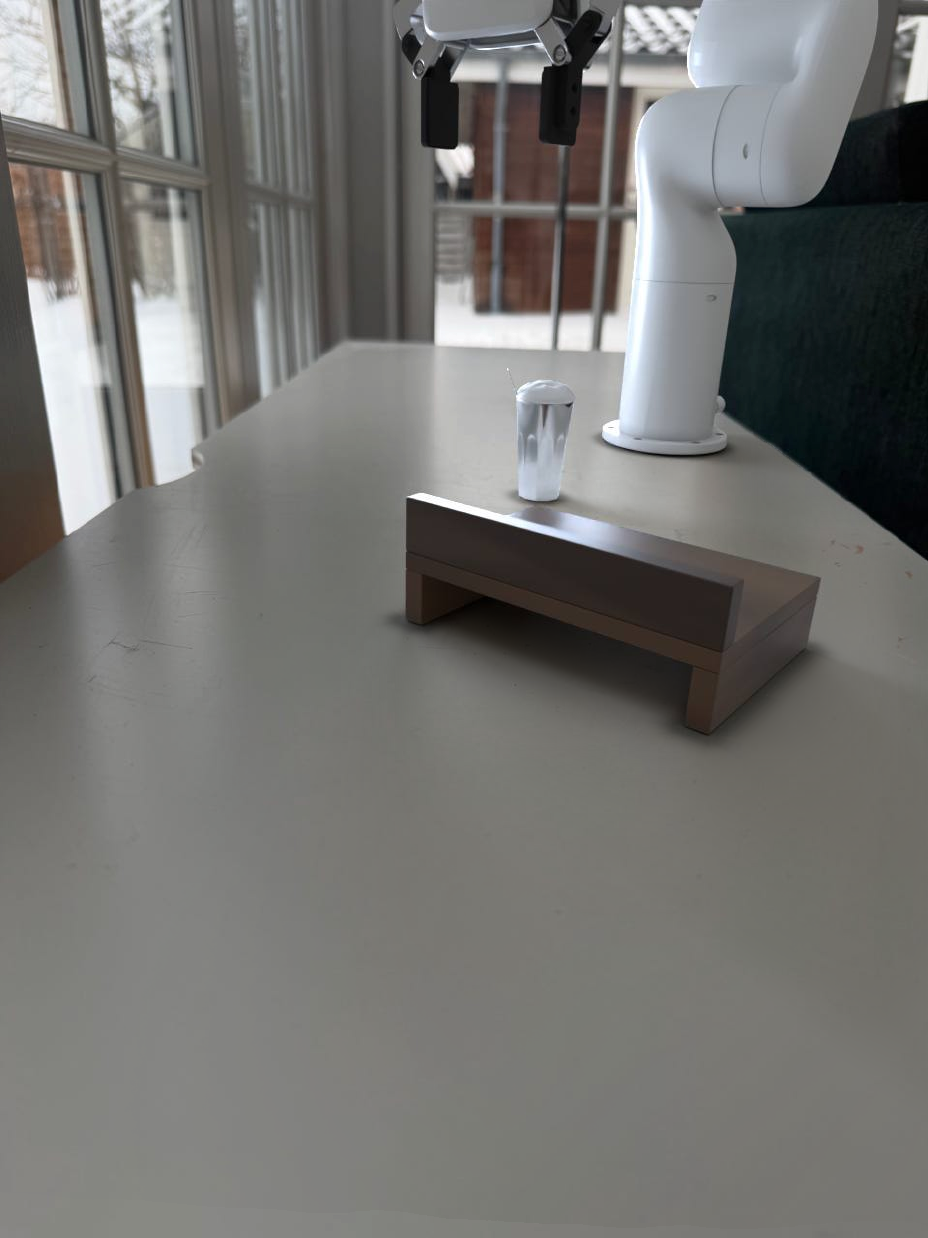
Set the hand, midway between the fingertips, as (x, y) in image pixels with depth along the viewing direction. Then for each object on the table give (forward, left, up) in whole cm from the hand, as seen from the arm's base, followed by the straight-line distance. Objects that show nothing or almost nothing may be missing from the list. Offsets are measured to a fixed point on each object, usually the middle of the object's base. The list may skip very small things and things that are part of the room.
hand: (495, 146), depth 58 cm
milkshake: (-6, +1, -25) cm, 26 cm away
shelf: (+13, +19, -25) cm, 34 cm away
